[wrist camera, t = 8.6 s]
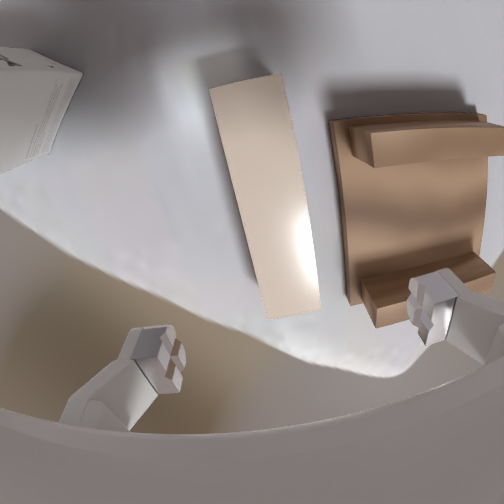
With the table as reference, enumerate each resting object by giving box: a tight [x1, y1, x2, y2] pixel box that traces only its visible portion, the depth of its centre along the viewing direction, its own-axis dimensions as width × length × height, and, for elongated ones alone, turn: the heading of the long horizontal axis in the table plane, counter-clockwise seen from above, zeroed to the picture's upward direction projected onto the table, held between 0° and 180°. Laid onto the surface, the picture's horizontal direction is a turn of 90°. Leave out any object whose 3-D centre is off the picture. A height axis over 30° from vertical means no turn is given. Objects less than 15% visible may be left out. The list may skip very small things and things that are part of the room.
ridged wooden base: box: [329, 113, 504, 328], centre depth 19 cm, size 15×14×5 cm
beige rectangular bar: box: [209, 74, 321, 320], centre depth 19 cm, size 16×4×4 cm, turn 12°
